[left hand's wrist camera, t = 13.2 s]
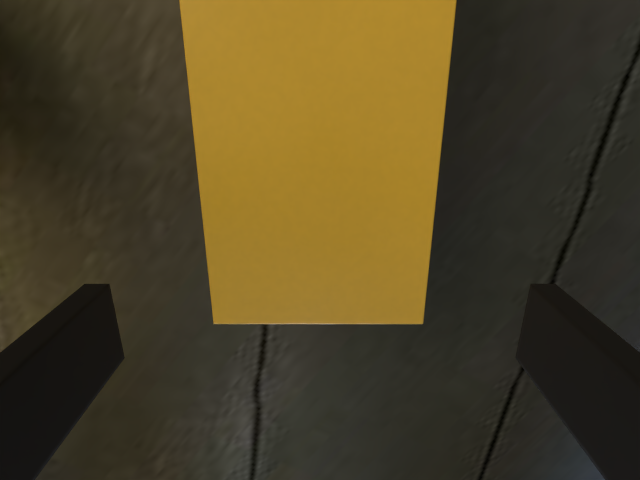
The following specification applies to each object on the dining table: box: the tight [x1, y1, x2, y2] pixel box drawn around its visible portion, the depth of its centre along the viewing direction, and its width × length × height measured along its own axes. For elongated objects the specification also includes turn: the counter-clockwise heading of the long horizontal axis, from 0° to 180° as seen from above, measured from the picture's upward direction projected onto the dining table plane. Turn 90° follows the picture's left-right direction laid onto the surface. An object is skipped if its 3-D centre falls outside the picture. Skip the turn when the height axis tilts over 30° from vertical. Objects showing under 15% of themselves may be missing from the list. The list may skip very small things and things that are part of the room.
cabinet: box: [179, 0, 457, 324], centre depth 21 cm, size 20×10×10 cm, turn 0°
